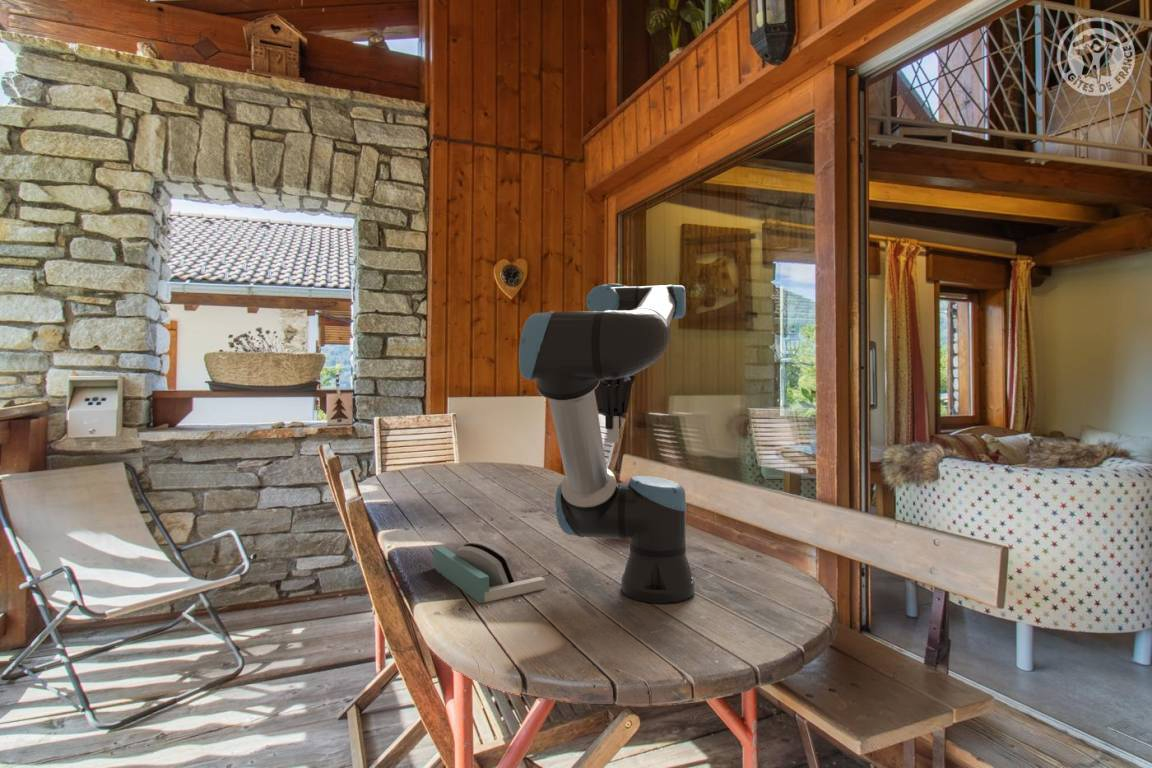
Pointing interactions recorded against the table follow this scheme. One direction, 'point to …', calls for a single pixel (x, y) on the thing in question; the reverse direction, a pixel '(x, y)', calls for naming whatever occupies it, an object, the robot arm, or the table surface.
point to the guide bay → (478, 578)
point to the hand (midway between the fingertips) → (613, 442)
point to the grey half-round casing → (489, 562)
